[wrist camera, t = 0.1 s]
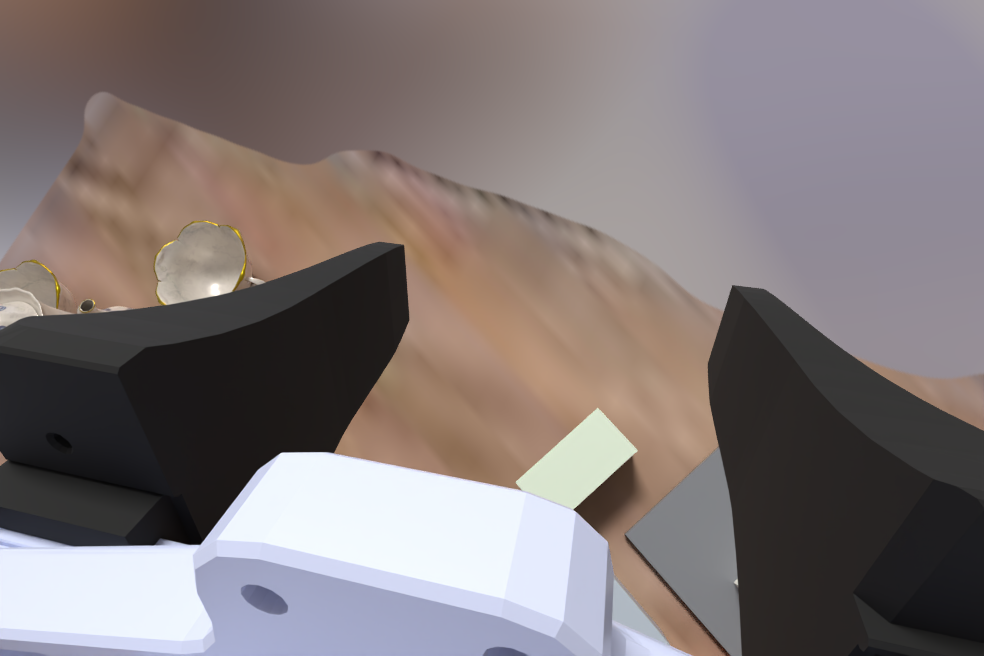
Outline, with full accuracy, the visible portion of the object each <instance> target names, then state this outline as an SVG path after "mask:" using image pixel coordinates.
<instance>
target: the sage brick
mask: <svg viewBox="0 0 984 656" xmlns="http://www.w3.org/2000/svg"><path fill="white" fill-rule="evenodd" d="M637 451H638V450H637V449H636V448H635V447H634V446H633V445H632V444H631V443H630V442H629V441H628V440H627V438H626V437H625V436H624V435H623V434H622V433H621V432H620V431H619V430H618V429H617V428H616V427H615V426H614V425H613V423H612V422H611V421H610V420H609V419H608V418H607V417H606V416H605V415H604V414H603V413H602V412H601V411H600V410H599V409H598V408H597V409H596V410H595V411H594V412H593V413H592V414H591V415H589V416H588V417H587V418H586V419H585V420H584V421H583V422H582V423H581V424H580V425H578V426H577V427H576V428H575V429H574V430H573V431H572V432H571V433H570V434H568V435H567V436H566V437H565V438H564V439H563V440H562V441H561V442H560V443H558V444H557V445H556V446H555V447H554V448H553V449H552V450H551V451H550V452H548V453H547V454H546V455H545V456H544V457H543V458H542V459H541V460H540V461H538V462H537V463H536V464H535V465H534V466H533V467H532V468H531V469H530V470H529V471H527V472H526V473H525V474H524V475H523V476H522V477H521V478H520V479H519V480H517V481H516V483H517V485H518V486H519V487H520V488H521V490H522V491H527V492H530V493H532V494H535V495H538V496H540V497H543V498H545V499H548V500H551V501H553V502H556V503H558V504H561V505H564V506H566V507H569V508H571V509H574V508H576V507H577V506H578V505H579V504H580V503H581V502H582V501H583V500H584V499H585V498H586V497H588V496H589V495H590V494H591V493H592V492H593V491H594V490H595V489H596V488H597V487H598V486H600V485H601V484H602V483H603V482H604V481H605V480H606V479H607V478H608V477H609V476H610V475H612V474H613V473H614V472H615V471H616V470H617V469H618V468H619V467H620V466H621V465H622V464H624V463H625V462H626V461H627V460H628V459H629V458H630V457H631V456H632V455H633V454H634V453H636V452H637Z"/></svg>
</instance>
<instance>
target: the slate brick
mask: <svg viewBox="0 0 984 656" xmlns="http://www.w3.org/2000/svg"><path fill="white" fill-rule="evenodd" d="M612 620H614V621H616V622H618V623H620V624H622V625H625V626H627V627H629V628H631V629H634V630H636V631H638V632H640V633H643V634H645V635H647V636H649V637H652V638H654V639H656V640H658V641H660V642H663V643H665V644H667V645H669V646H670V644H669V642H668V641H667V639H666V637H665V636H664V634H663V632H662V631H661V629H660V628H659V627H658V626H657V624H656V623H655V622H654V621H653V620H652V618H651V617H650V616H649V615H648V614H647V613H646V611H645V610H644V609H643V608H642V607H641V605H640V604H639V603H638V602H637V601H636V600H635V598H634V597H633V596H632V595H631V594H630V592H629V591H628V590H627V589H626V588H625V586H624V585H623V584H622V583H621V582H620V581H619V579H618V578H617V577H616V576H615V575H614V584H613V611H612Z"/></svg>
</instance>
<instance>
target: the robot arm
mask: <svg viewBox="0 0 984 656" xmlns="http://www.w3.org/2000/svg"><path fill="white" fill-rule="evenodd" d="M408 322H409V307H408V293H407V279H406V265H405V251H404V245H401V244H393V243H385V242H376V243H372V244H369V245H366V246H363V247H360V248H357V249H354V250H352V251H349V252H347V253H344V254H341V255H339V256H336V257H334V258H331V259H329V260H326V261H324V262H321V263H319V264H316V265H314V266H311V267H309V268H306V269H303V270H300V271H297V272H294V273H292V274H289V275H286V276H283V277H280V278H278V279H275V280H272V281H269V282H266V283H263V284H259V285H256V286H252V287H249V288H245V289H241V290H237V291H234V292H230V293H226V294H221V295H217V296H212V297H207V298H201V299H196V300H191V301H186V302H181V303H175V304H169V305H163V306H155V307H148V308H140V309H131V310H122V311H112V312H100V313H83V314H64V315H45V316H28V317H25V318H22V319H19V320H17V321H16V322H14V323H12V324H10V325H8V326H7V327H5V328H3V329H1V330H0V451H1V453H2V454H3V456H4V457H5V459H7V461H6V462H5V463H4V464H2V465H1V466H0V656H692V655H690V654H687V653H685V652H683V651H681V650H678V649H676V648H674V647H672V646H669V645H667V644H665V643H663V642H660V641H658V640H656V639H654V638H652V637H649V636H647V635H645V634H643V633H640V632H638V631H636V630H634V629H631V628H629V627H627V626H625V625H622V624H620V623H618V622H616V621H614V620H612V611H613V584H614V572H613V566H612V561H611V556H610V550H609V545H608V542H607V541H606V540H605V539H604V538H603V537H602V536H601V535H600V534H599V533H598V532H597V531H596V530H594V529H593V528H592V527H591V526H590V525H589V524H588V523H587V522H586V521H585V520H584V519H583V518H582V517H581V516H580V515H579V514H578V513H577V512H575V511H574V510H573V509H571V508H569V507H566V506H564V505H561V504H558V503H556V502H553V501H551V500H548V499H545V498H543V497H540V496H538V495H535V494H532V493H530V492H527V491H522V490H517V489H512V488H507V487H502V486H496V485H491V484H486V483H481V482H476V481H471V480H466V479H461V478H456V477H451V476H446V475H441V474H436V473H430V472H425V471H420V470H415V469H410V468H405V467H400V466H395V465H390V464H385V463H380V462H375V461H370V460H364V459H359V458H354V457H349V456H344V455H339V454H334V452H335V450H336V448H337V446H338V444H339V442H340V440H341V438H342V436H343V434H344V432H345V430H346V429H347V427H348V425H349V424H350V422H351V420H352V419H353V417H354V416H355V414H356V412H357V411H358V409H359V408H360V406H361V405H362V403H363V402H364V400H365V399H366V397H367V396H368V394H369V393H370V391H371V389H372V388H373V386H374V385H375V383H376V382H377V380H378V379H379V377H380V376H381V374H382V373H383V371H384V369H385V368H386V366H387V365H388V363H389V362H390V360H391V358H392V357H393V355H394V353H395V352H396V349H397V347H398V345H399V343H400V341H401V339H402V336H403V334H404V332H405V329H406V327H407V324H408ZM708 383H709V399H710V406H711V411H712V416H713V421H714V426H715V430H716V435H717V440H718V444H719V449H720V453H721V458H722V462H723V467H724V472H725V476H726V481H727V485H728V490H729V496H730V502H731V508H732V518H733V528H734V539H735V550H736V563H737V577H738V591H739V608H740V629H741V650H742V656H984V431H983V430H981V429H979V428H977V427H975V426H973V425H971V424H969V423H966V422H964V421H962V420H960V419H958V418H956V417H954V416H952V415H950V414H948V413H946V412H944V411H942V410H940V409H938V408H937V407H935V406H933V405H931V404H929V403H927V402H925V401H923V400H922V399H920V398H918V397H916V396H915V395H913V394H911V393H910V392H908V391H906V390H905V389H903V388H901V387H899V386H898V385H896V384H894V383H893V382H891V381H889V380H888V379H886V378H884V377H883V376H881V375H880V374H878V373H876V372H875V371H873V370H872V369H870V368H869V367H867V366H866V365H865V364H863V363H862V362H860V361H859V360H857V359H856V358H854V357H853V356H852V355H850V354H849V353H847V352H846V351H844V350H843V349H842V348H840V347H839V346H838V345H836V344H835V343H834V342H832V341H831V340H830V339H828V338H827V337H826V336H824V335H823V334H822V333H821V332H819V331H818V330H817V329H815V328H814V327H813V326H812V325H810V324H809V323H808V322H807V321H805V320H804V319H803V318H802V317H800V316H799V315H798V314H797V313H795V312H794V311H793V310H792V309H791V308H789V307H788V306H786V304H784V303H783V302H782V301H780V300H779V299H778V298H776V297H775V296H774V295H772V294H771V293H769V292H768V291H766V290H764V289H759V288H751V287H742V286H735V285H733V286H732V289H731V292H730V295H729V298H728V301H727V305H726V307H725V311H724V314H723V317H722V320H721V323H720V326H719V330H718V333H717V336H716V339H715V342H714V346H713V349H712V352H711V355H710V358H709V362H708Z"/></svg>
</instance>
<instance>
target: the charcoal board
mask: <svg viewBox="0 0 984 656" xmlns="http://www.w3.org/2000/svg"><path fill="white" fill-rule="evenodd" d="M625 535H626V536H627V537H628V538H629V540H630V541H631V542H632V543H633V544H634V545H635V546H636V548H637V549H638V550H639V551H640V552H641V553H642V554H643V556H644V557H645V558H646V559H647V560H648V561H649V563H650V564H651V565H652V566H653V567H654V568H655V569H656V571H657V572H658V573H659V574H660V575H661V576H662V577H663V579H664V580H665V581H666V582H667V583H668V584H669V585H670V587H671V588H672V589H673V590H674V591H675V592H676V593H677V595H678V596H679V597H680V598H681V599H682V600H683V602H684V603H685V604H686V605H687V606H688V607H689V608H690V610H691V611H692V612H693V613H694V614H695V615H696V616H697V618H698V619H699V620H700V621H701V622H702V623H703V624H704V626H705V627H706V628H707V629H708V630H709V631H710V632H711V634H712V635H713V636H714V637H715V638H716V639H717V641H718V642H719V643H720V644H721V645H722V646H723V647H724V649H725V650H726V651H727V652H728V653H729V654H730V655H731V656H742V650H741V629H740V608H739V591H738V587H737V586H736V585H735V584H734V582H735V581H736V580H737V579H738V577H737V563H736V550H735V539H734V528H733V518H732V508H731V502H730V496H729V490H728V485H727V481H726V476H725V472H724V467H723V462H722V458H721V453H720V449H719V447H717V448H716V449H715V450H714V451H713V452H712V453H711V454H710V455H709V456H708V457H707V458H706V459H705V460H703V461H702V462H701V463H700V464H699V465H698V466H697V467H696V468H695V469H694V470H693V471H692V472H691V473H689V474H688V475H687V476H686V477H685V478H684V479H683V480H682V481H681V482H680V483H679V484H678V485H677V486H675V487H674V488H673V489H672V490H671V491H670V492H669V493H668V494H667V495H666V496H665V497H664V498H663V499H661V500H660V501H659V502H658V503H657V504H656V505H655V506H654V507H653V508H652V509H651V510H650V511H649V512H648V513H646V514H645V515H644V516H643V517H642V518H641V519H640V520H639V521H638V522H637V523H636V524H635V525H634V526H632V527H631V528H630V529H629V530H628V531H627V532H626V533H625Z"/></svg>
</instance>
